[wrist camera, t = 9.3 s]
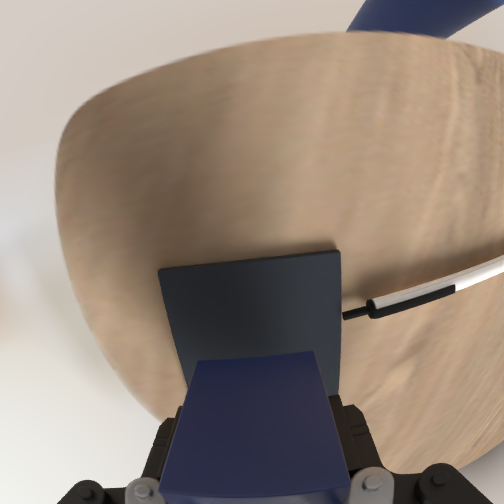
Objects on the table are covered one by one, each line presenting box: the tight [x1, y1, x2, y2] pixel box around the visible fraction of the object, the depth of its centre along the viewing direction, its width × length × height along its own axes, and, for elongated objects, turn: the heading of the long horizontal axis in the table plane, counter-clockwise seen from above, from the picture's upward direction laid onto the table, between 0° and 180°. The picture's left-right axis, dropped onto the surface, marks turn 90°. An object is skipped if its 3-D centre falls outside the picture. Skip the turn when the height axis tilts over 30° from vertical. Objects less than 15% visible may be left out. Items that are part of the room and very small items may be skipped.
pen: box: [342, 255, 504, 320], centre depth 12 cm, size 1×19×1 cm, turn 103°
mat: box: [158, 250, 341, 396], centre depth 14 cm, size 10×8×1 cm
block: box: [158, 350, 351, 504], centre depth 8 cm, size 4×4×6 cm
